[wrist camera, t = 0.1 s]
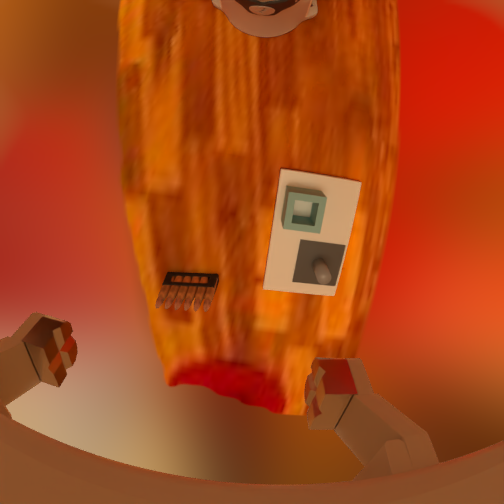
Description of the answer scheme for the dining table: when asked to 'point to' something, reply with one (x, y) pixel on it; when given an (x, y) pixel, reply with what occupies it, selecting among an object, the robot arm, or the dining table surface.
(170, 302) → the ammunition clip
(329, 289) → the post board
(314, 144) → the dining table surface
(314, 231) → the collar
